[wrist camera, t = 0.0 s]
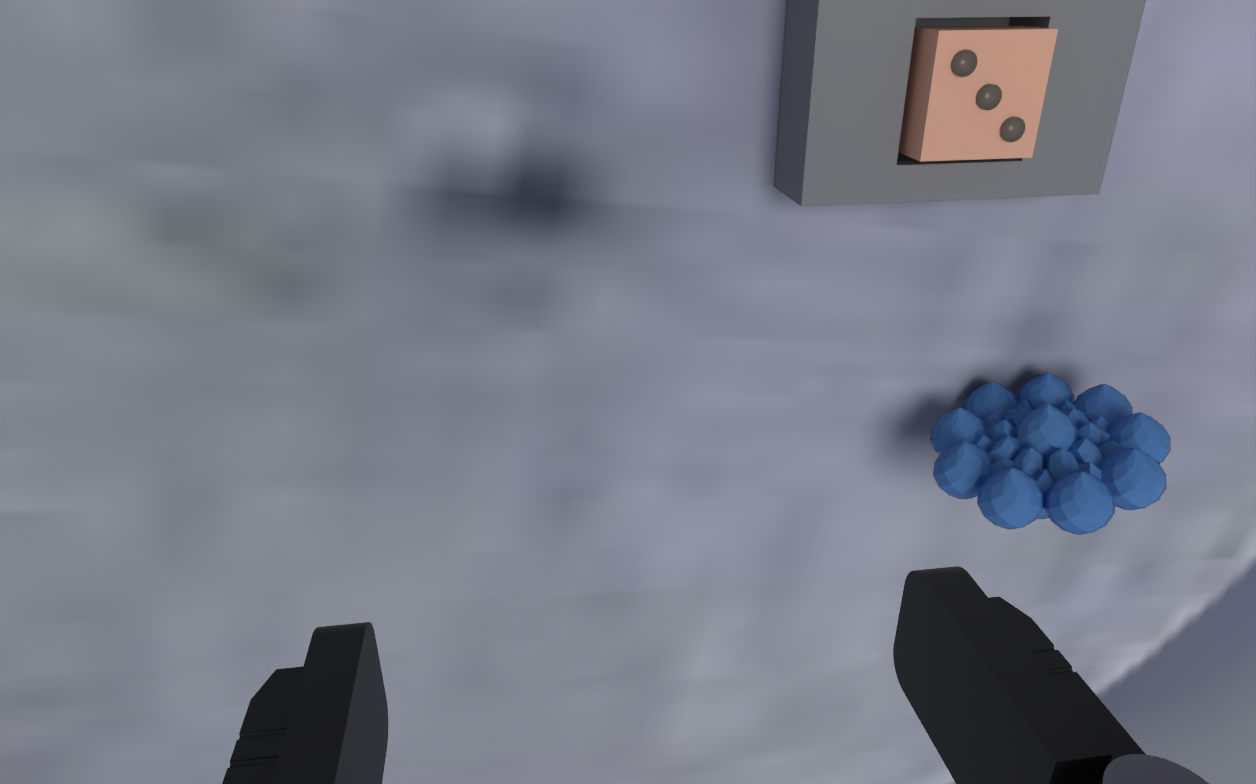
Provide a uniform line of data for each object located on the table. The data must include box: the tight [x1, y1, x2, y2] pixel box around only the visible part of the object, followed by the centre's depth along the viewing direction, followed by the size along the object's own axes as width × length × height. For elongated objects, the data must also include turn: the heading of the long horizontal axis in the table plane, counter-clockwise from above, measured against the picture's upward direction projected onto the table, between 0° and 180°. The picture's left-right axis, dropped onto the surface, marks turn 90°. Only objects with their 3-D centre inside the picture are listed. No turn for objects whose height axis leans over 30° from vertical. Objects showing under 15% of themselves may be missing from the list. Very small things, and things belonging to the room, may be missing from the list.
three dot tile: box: [898, 26, 1058, 161], centre depth 35 cm, size 5×5×3 cm
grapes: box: [930, 373, 1171, 535], centre depth 42 cm, size 12×7×12 cm, turn 100°
